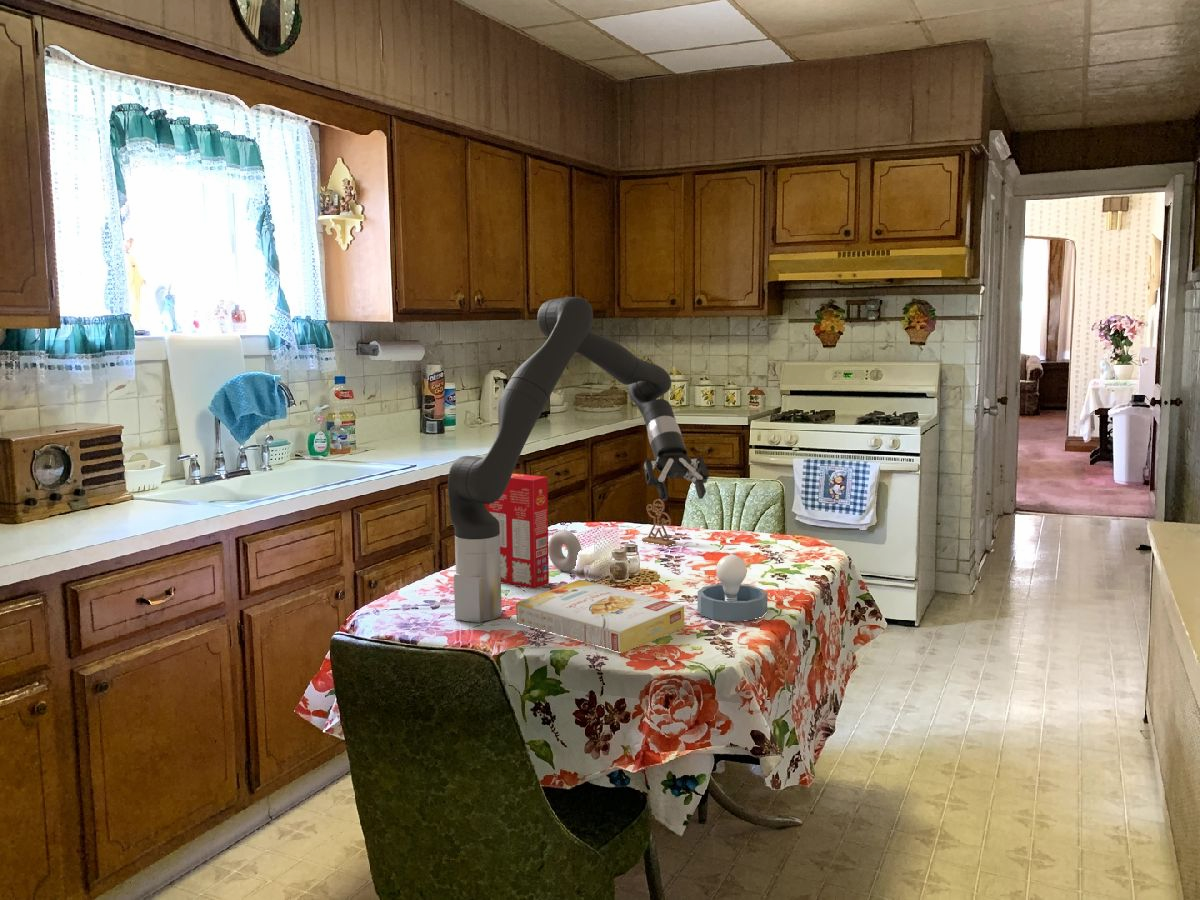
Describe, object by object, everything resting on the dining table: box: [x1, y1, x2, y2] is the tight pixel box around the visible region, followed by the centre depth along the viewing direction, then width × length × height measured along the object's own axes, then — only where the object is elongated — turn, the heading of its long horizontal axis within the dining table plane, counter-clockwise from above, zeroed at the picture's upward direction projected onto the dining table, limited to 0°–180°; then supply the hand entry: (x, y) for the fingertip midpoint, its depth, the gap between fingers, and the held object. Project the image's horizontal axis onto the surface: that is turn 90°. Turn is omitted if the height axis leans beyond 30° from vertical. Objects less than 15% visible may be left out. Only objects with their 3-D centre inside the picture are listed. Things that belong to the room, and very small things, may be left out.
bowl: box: [696, 583, 769, 622], centre depth 211 cm, size 14×14×4 cm
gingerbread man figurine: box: [641, 498, 677, 547], centre depth 271 cm, size 9×4×12 cm, turn 48°
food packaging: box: [485, 472, 550, 589], centre depth 233 cm, size 15×5×25 cm, turn 57°
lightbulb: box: [715, 554, 748, 601], centre depth 210 cm, size 6×6×11 cm
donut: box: [548, 530, 582, 572], centre depth 244 cm, size 10×4×10 cm, turn 48°
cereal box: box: [515, 579, 685, 654], centre depth 202 cm, size 20×6×28 cm
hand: (684, 497), depth 223 cm, fingers open, 8 cm apart
